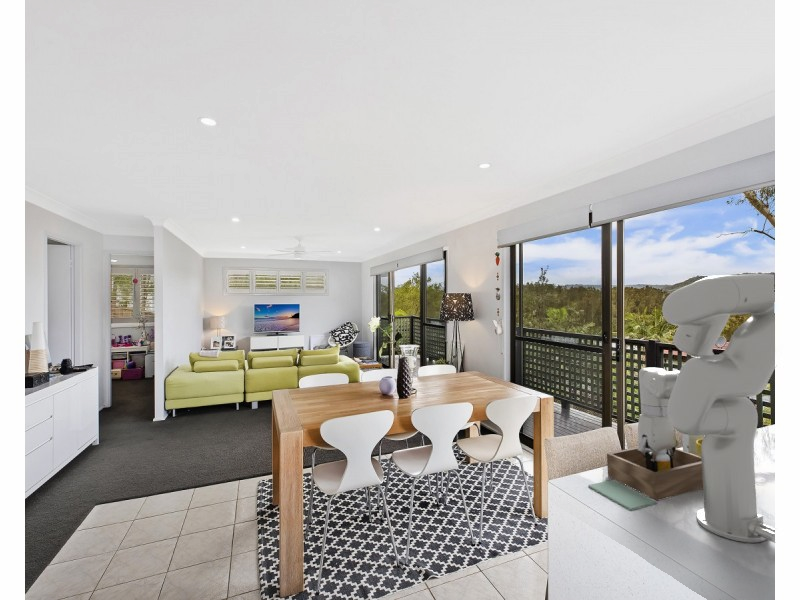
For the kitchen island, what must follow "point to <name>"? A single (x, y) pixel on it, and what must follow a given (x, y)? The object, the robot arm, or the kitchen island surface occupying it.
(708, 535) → the kitchen island surface
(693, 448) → the skincare box
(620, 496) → the mat
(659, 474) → the box
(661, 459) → the supplement bottle
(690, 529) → the kitchen island surface
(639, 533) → the kitchen island surface
